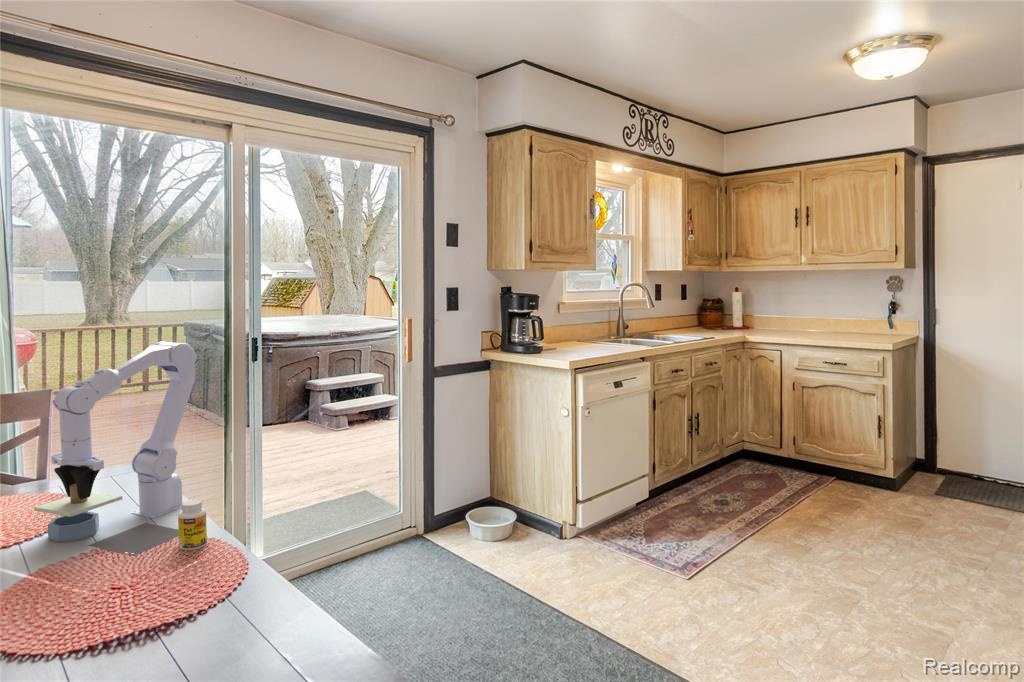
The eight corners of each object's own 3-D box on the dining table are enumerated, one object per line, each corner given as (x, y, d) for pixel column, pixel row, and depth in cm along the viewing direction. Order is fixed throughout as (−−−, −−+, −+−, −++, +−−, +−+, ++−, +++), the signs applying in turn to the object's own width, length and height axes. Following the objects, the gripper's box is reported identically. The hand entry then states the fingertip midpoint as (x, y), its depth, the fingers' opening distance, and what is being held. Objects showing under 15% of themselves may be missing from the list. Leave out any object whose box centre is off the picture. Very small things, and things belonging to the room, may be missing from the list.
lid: (87, 494, 149) (86, 474, 149) (122, 499, 145) (121, 479, 144) (34, 510, 138) (32, 489, 137) (70, 516, 134) (68, 495, 133)
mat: (145, 524, 150) (145, 522, 149) (188, 533, 145) (188, 531, 145) (88, 546, 136) (88, 545, 136) (133, 557, 132) (133, 555, 132)
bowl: (80, 525, 148) (79, 509, 148) (107, 531, 145) (106, 515, 145) (40, 540, 140) (39, 523, 139) (67, 546, 137) (66, 529, 136)
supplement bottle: (180, 553, 134) (178, 508, 133) (178, 544, 138) (176, 500, 137) (208, 548, 137) (207, 503, 136) (205, 539, 141) (203, 496, 140)
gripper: (36, 439, 139) (39, 498, 140) (80, 446, 134) (83, 506, 135) (67, 433, 145) (70, 488, 147) (111, 439, 140) (114, 496, 142)
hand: (79, 496), depth 141 cm, fingers closed on lid, 3 cm apart
